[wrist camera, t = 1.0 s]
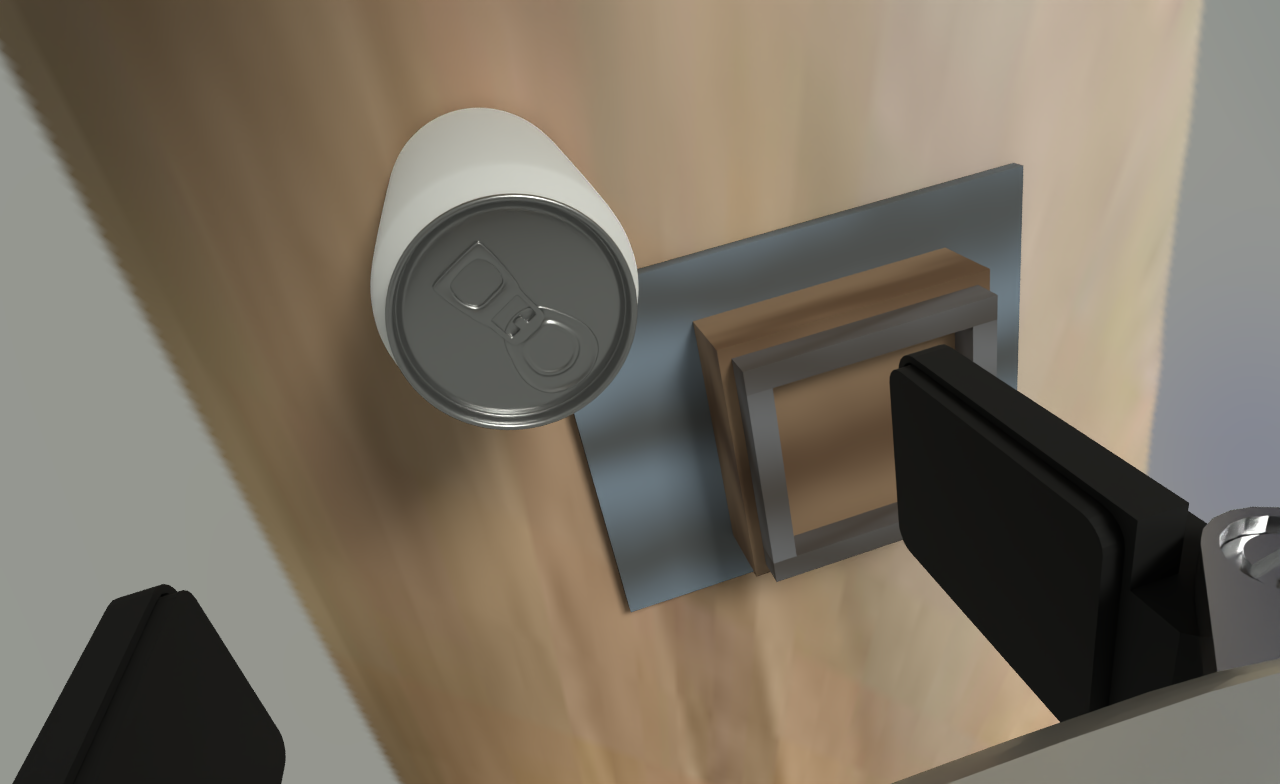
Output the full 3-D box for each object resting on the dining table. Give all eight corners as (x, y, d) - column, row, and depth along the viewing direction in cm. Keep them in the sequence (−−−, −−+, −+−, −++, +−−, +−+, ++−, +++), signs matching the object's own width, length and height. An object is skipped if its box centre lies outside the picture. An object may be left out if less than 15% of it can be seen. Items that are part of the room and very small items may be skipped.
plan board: (540, 296, 30) (558, 344, 26) (1013, 162, 33) (1100, 187, 28) (628, 603, 38) (652, 678, 34) (1006, 478, 40) (1074, 534, 36)
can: (487, 322, 30) (518, 493, 20) (347, 200, 27) (296, 327, 17) (609, 201, 29) (710, 314, 19) (479, 61, 26) (512, 104, 16)
